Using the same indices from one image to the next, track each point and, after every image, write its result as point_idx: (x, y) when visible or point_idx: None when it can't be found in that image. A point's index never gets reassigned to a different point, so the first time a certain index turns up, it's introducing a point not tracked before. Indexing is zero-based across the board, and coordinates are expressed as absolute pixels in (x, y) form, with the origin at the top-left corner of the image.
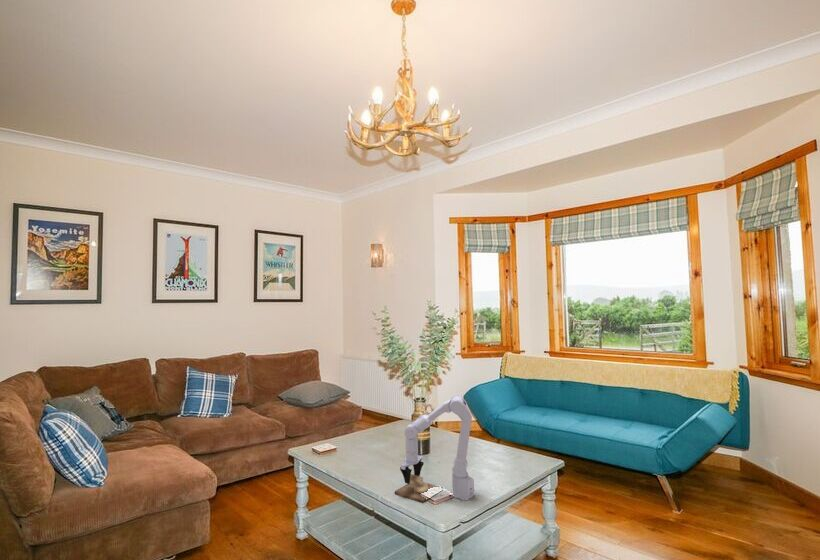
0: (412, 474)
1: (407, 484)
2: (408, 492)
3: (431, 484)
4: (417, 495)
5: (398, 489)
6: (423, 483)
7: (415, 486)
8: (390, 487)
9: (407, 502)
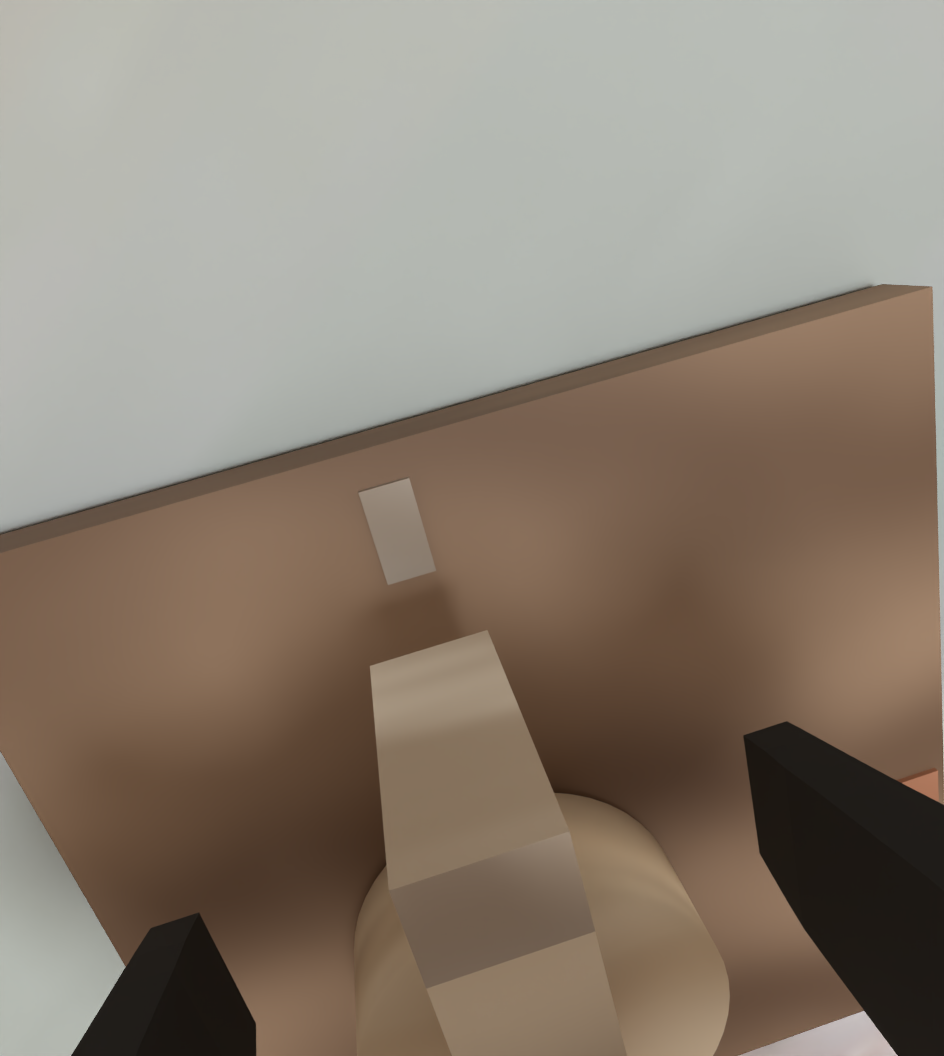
0: (606, 1030)
1: (533, 421)
2: (232, 837)
3: (929, 783)
4: (317, 1035)
5: (91, 541)
6: (704, 961)
7: (409, 1010)
8: (82, 17)
9: (32, 1010)
